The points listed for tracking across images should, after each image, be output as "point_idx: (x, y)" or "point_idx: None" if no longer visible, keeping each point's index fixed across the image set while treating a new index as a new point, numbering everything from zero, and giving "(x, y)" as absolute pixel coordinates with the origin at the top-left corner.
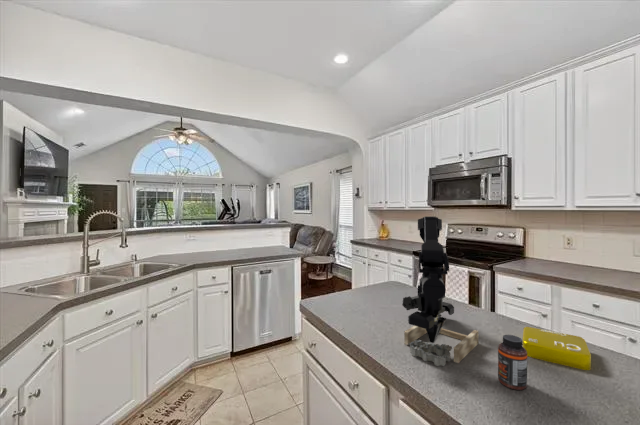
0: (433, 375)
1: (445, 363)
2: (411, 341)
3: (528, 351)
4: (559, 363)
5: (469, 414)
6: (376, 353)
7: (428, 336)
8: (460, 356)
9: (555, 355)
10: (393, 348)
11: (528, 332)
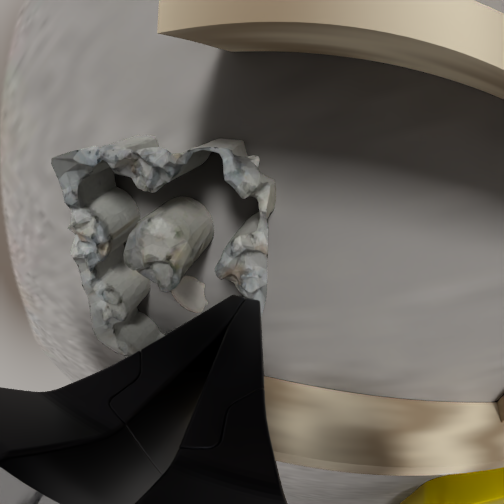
0: (78, 302)
1: None
2: (305, 50)
3: (426, 494)
4: (405, 500)
5: (60, 365)
6: (29, 26)
7: (191, 321)
8: None
9: None
10: (111, 20)
11: (502, 501)
